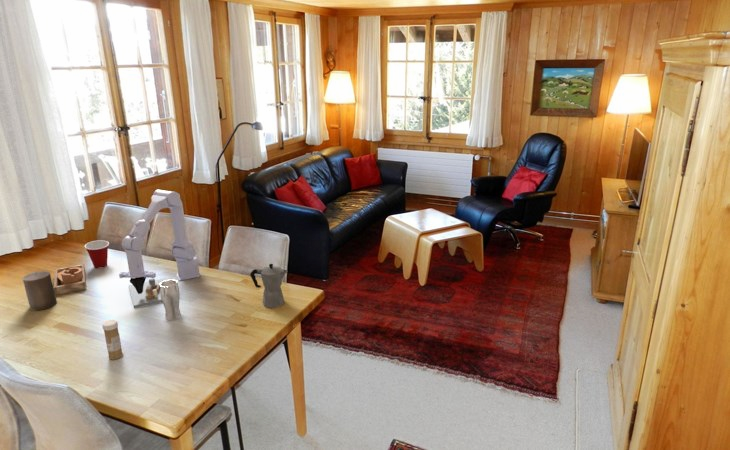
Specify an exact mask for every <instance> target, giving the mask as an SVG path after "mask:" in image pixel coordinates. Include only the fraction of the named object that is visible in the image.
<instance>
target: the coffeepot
mask: <svg viewBox="0 0 730 450" xmlns="http://www.w3.org/2000/svg"><path fill="white" fill-rule="evenodd" d="M268 265H269V266H266V267H264V268H260V269H256V268H255V269H253V270H252V271H251V272H250V274H249V275H250V277H251V280H252V281H253V285H254V286H255V288H256V289H257V288H262V285H263V287H264V289H263V296H262V304H263V306H264V307H265V308H268V309H275V308H279V307H281V306H283V305H284V303H285V299H284V294H283V291H282V287H281V286H282V283H283V278H284V277H285V275H286V274H287V273H288V270H287V269H285V268H284V269H283V268H282V267H281V266H275V265H274V264H273V263H269V264H268ZM255 274H256V275H260V276H261V281H262V285H261V284H259V283H258V281H257V277H256V275H255Z"/></svg>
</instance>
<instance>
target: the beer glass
mask: <svg viewBox="0 0 730 450" xmlns="http://www.w3.org/2000/svg"><path fill="white" fill-rule="evenodd" d="M180 293H181V292H180V287H179V283H178V280H177V279H172V280H166V281H163V282H161V283H160V294H161V299H162V302H161V303H162V305H163V307H164V311H165V316H164V317H165V320H166V321H167V322H168V321H169V322H170V321H173V322H174V321H177V320H179V319H180V318H182V312H181V308H180V299H181V298H180V296H181V295H180Z"/></svg>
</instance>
